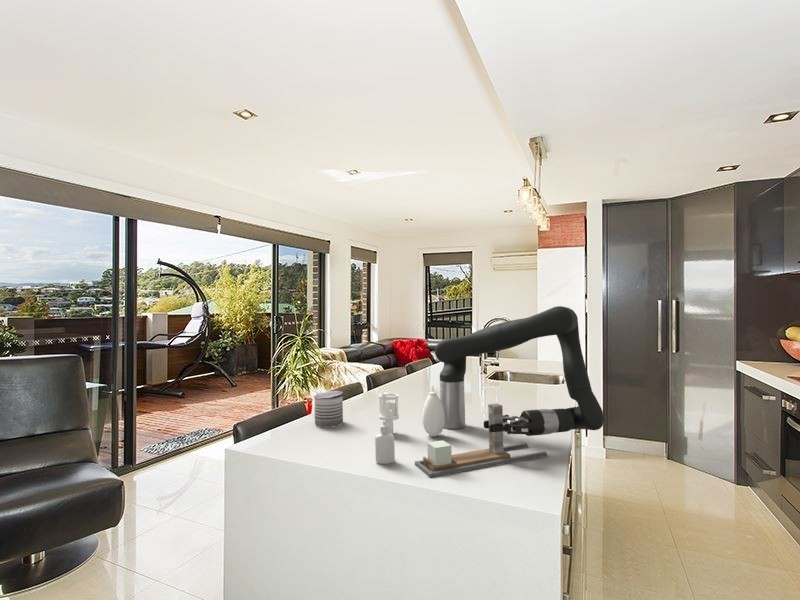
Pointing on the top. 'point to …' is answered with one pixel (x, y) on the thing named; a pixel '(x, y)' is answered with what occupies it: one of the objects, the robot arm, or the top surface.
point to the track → (481, 465)
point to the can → (328, 409)
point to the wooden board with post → (480, 455)
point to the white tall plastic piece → (389, 409)
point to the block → (439, 453)
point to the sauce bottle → (433, 415)
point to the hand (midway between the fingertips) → (487, 426)
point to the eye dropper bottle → (384, 446)
